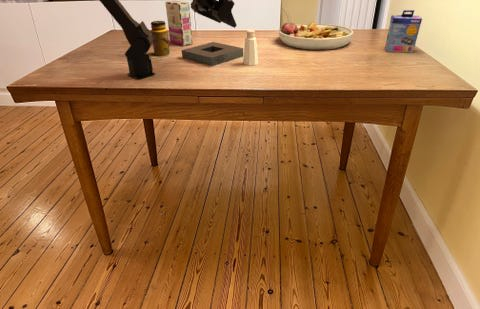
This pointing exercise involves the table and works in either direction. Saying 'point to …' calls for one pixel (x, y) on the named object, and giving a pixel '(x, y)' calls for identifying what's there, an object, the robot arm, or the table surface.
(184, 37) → the candy bar box
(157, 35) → the condiment
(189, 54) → the holder block
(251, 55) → the pepper shaker
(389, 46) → the ink cartridge box
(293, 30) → the bowl
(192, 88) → the table surface
